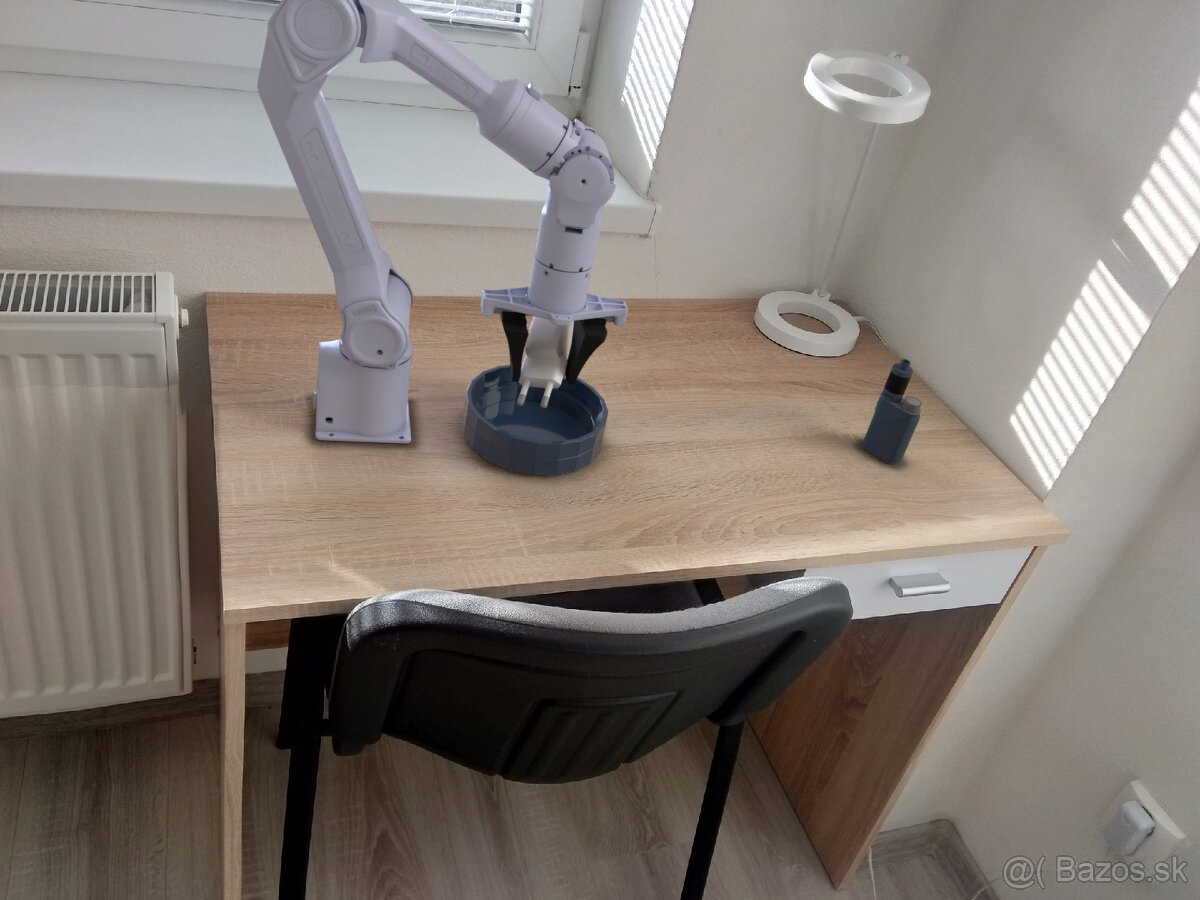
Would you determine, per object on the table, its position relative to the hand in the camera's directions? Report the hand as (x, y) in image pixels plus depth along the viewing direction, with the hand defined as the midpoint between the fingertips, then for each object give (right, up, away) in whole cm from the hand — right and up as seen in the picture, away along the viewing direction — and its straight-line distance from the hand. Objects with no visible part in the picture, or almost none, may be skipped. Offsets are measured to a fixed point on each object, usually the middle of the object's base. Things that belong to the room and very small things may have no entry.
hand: (541, 378), depth 108 cm
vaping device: (+39, -8, +15) cm, 43 cm away
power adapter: (+1, 0, +4) cm, 4 cm away
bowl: (-1, -6, +4) cm, 8 cm away
